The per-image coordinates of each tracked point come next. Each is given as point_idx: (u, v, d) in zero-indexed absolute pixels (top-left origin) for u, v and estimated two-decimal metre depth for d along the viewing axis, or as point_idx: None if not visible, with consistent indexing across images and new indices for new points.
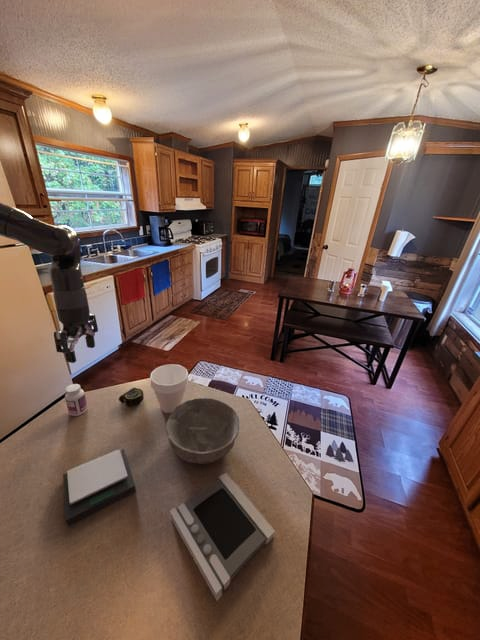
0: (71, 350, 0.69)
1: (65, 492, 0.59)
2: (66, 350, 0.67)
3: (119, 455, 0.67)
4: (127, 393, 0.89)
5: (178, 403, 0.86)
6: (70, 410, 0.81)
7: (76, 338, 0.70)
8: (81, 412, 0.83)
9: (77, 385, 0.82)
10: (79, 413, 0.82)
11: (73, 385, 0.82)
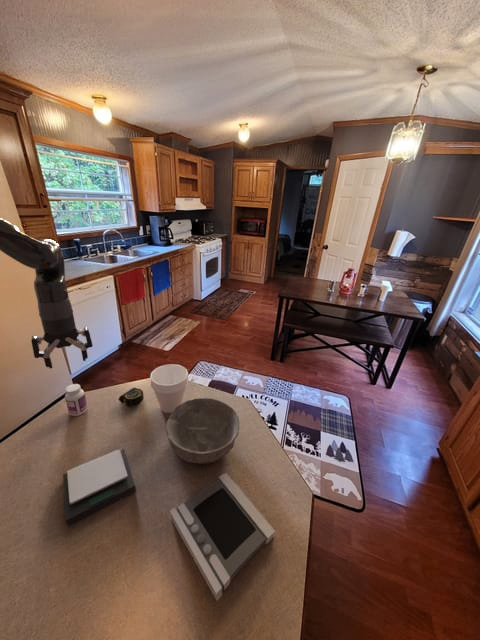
0: (44, 357, 0.72)
1: (65, 492, 0.59)
2: (36, 355, 0.70)
3: (119, 455, 0.67)
4: (127, 393, 0.89)
5: (178, 403, 0.86)
6: (70, 410, 0.81)
7: (51, 347, 0.71)
8: (81, 412, 0.83)
9: (77, 385, 0.82)
10: (79, 413, 0.82)
11: (73, 385, 0.82)
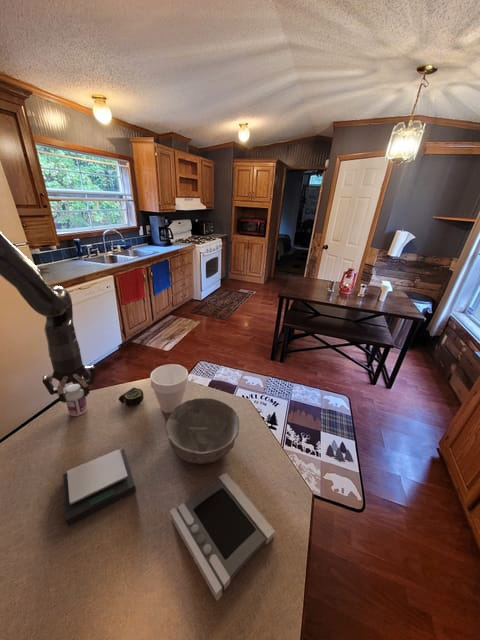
0: (58, 393, 0.78)
1: (65, 492, 0.59)
2: (51, 392, 0.76)
3: (119, 455, 0.67)
4: (127, 393, 0.89)
5: (178, 403, 0.86)
6: (70, 410, 0.81)
7: (62, 384, 0.77)
8: (81, 412, 0.83)
9: (77, 385, 0.82)
10: (79, 413, 0.82)
11: (73, 385, 0.82)
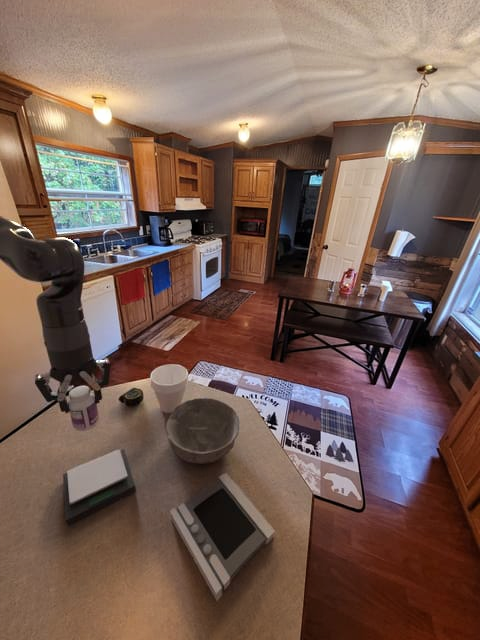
0: (59, 399, 0.53)
1: (65, 492, 0.59)
2: (48, 398, 0.52)
3: (119, 455, 0.67)
4: (127, 393, 0.89)
5: (178, 403, 0.86)
6: (75, 423, 0.57)
7: (63, 387, 0.53)
8: (91, 426, 0.58)
9: (85, 388, 0.57)
10: (88, 427, 0.58)
11: (80, 388, 0.57)
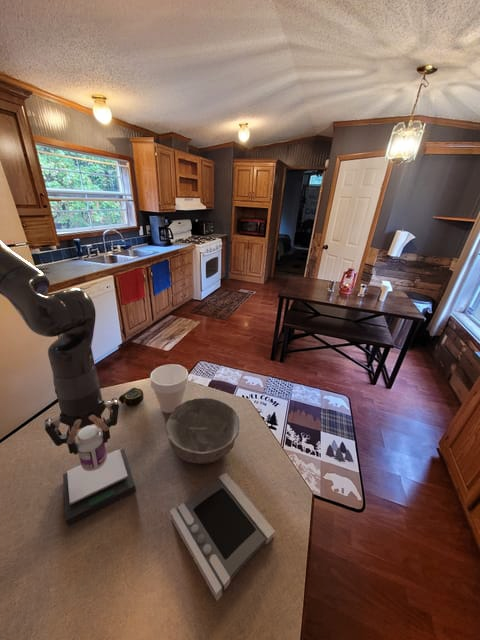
0: (68, 442, 0.54)
1: (65, 492, 0.59)
2: (58, 443, 0.52)
3: (119, 455, 0.67)
4: (127, 393, 0.89)
5: (178, 403, 0.86)
6: (84, 464, 0.57)
7: (73, 431, 0.53)
8: (99, 465, 0.59)
9: (94, 428, 0.58)
10: (96, 467, 0.58)
11: (88, 428, 0.58)
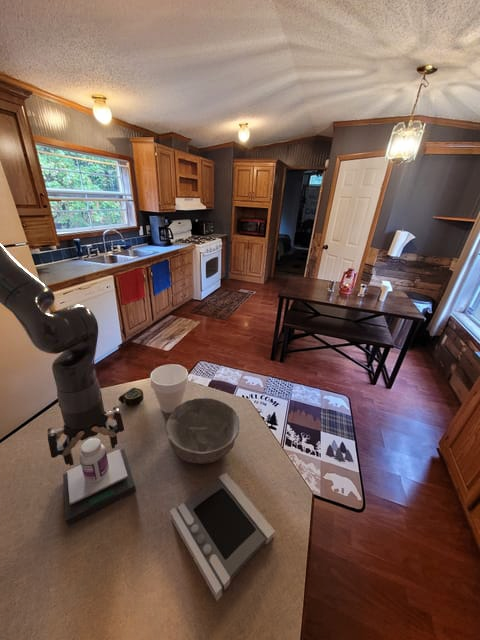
0: (64, 454, 0.54)
1: (65, 492, 0.59)
2: (53, 455, 0.53)
3: (119, 455, 0.67)
4: (127, 393, 0.89)
5: (178, 403, 0.86)
6: (87, 475, 0.59)
7: (73, 442, 0.54)
8: (101, 477, 0.60)
9: (96, 440, 0.59)
10: (99, 478, 0.60)
11: (91, 441, 0.59)
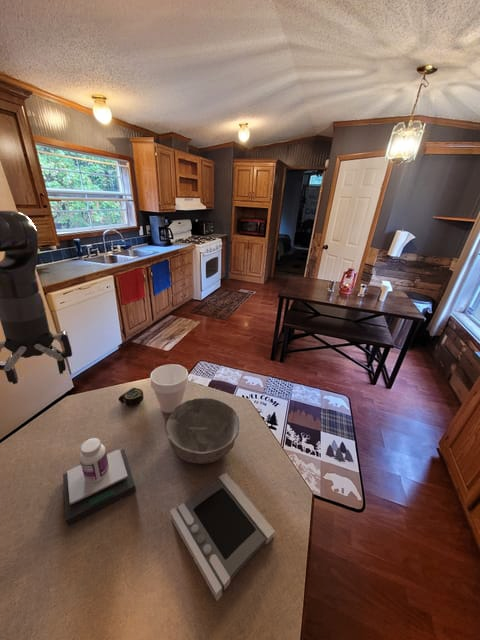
0: (5, 369, 0.54)
1: (65, 492, 0.59)
2: None
3: (119, 455, 0.67)
4: (127, 393, 0.89)
5: (178, 403, 0.86)
6: (87, 475, 0.59)
7: (14, 357, 0.54)
8: (101, 477, 0.60)
9: (96, 440, 0.59)
10: (99, 478, 0.60)
11: (91, 441, 0.59)
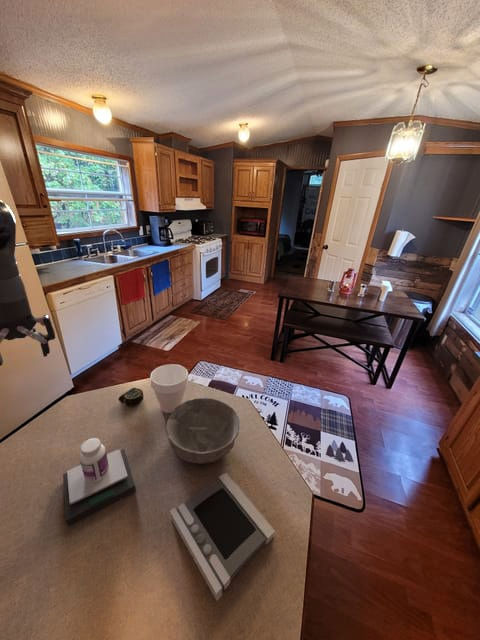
0: None
1: (65, 492, 0.59)
2: None
3: (119, 455, 0.67)
4: (127, 393, 0.89)
5: (178, 403, 0.86)
6: (87, 475, 0.59)
7: None
8: (101, 477, 0.60)
9: (96, 440, 0.59)
10: (99, 478, 0.60)
11: (91, 441, 0.59)
